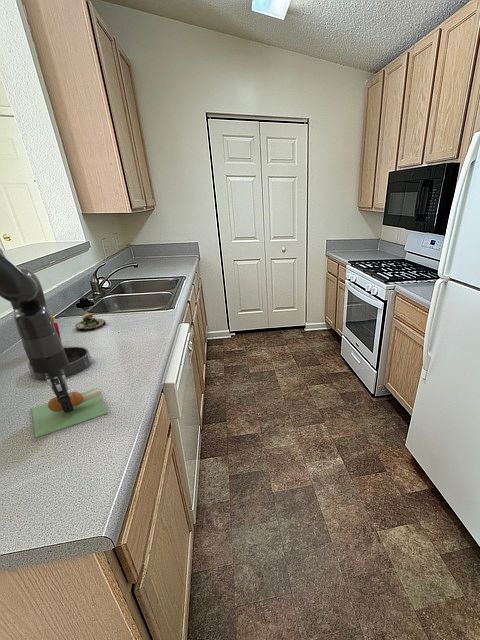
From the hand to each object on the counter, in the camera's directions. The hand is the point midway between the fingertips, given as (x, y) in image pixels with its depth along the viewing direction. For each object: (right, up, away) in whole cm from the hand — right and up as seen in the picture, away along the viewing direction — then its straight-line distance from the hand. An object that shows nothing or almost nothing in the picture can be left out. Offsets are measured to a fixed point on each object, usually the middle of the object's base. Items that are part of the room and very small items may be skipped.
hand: (68, 407), depth 90 cm
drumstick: (+1, +1, +1) cm, 2 cm away
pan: (-19, +10, +24) cm, 32 cm away
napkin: (0, -1, +1) cm, 1 cm away
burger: (-31, +28, +60) cm, 73 cm away
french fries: (-33, +17, +38) cm, 53 cm away
